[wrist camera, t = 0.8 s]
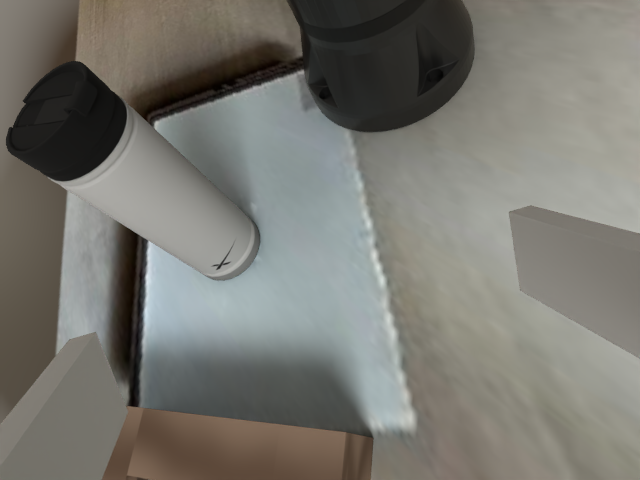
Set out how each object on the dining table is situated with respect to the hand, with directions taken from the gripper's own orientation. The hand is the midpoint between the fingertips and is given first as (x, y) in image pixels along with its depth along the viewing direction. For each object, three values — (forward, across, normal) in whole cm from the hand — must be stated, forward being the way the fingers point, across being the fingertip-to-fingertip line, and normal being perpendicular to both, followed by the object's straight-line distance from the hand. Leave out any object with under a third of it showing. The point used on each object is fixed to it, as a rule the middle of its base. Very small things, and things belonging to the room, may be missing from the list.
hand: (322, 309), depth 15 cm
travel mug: (+28, -4, -4) cm, 29 cm away
